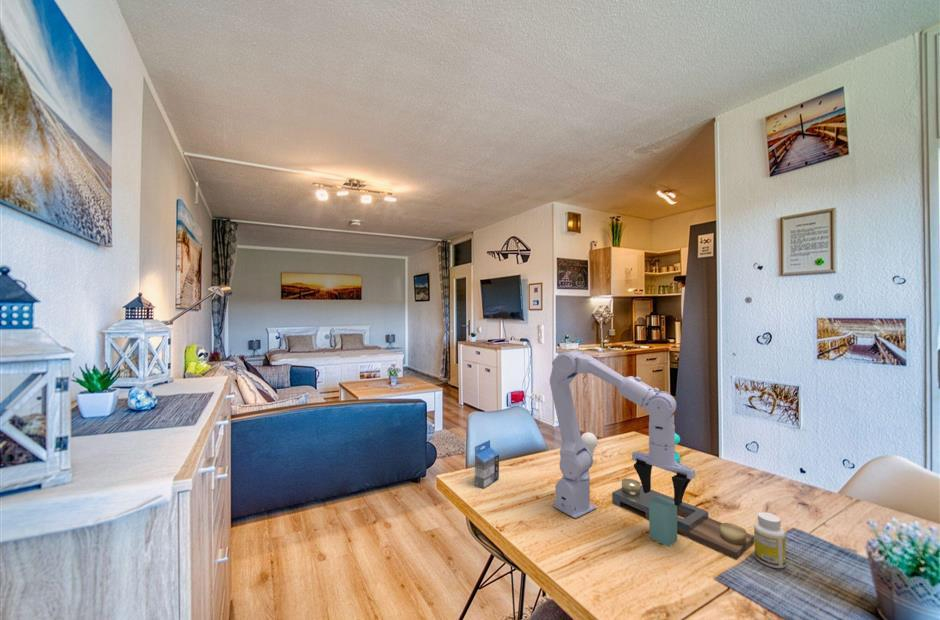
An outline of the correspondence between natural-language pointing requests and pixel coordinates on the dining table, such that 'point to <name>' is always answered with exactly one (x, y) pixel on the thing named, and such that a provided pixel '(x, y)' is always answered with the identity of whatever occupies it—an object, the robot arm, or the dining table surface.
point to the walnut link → (718, 536)
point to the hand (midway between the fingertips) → (662, 497)
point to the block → (663, 520)
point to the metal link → (640, 500)
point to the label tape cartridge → (486, 465)
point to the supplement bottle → (769, 541)
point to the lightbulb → (590, 441)
